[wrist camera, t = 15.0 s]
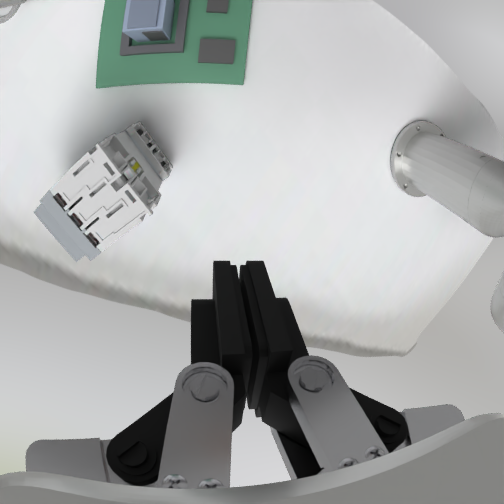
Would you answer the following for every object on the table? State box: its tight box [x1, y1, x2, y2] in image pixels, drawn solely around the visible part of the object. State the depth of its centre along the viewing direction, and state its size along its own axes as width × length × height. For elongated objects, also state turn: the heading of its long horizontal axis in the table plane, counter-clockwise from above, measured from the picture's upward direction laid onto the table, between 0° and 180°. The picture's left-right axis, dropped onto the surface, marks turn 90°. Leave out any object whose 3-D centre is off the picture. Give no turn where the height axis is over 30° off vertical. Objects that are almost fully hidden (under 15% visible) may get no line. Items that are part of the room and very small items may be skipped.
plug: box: [122, 0, 175, 42], centre depth 21 cm, size 4×5×8 cm
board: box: [96, 0, 252, 88], centre depth 25 cm, size 18×14×3 cm
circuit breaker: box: [34, 121, 173, 262], centre depth 28 cm, size 8×14×15 cm, turn 120°
